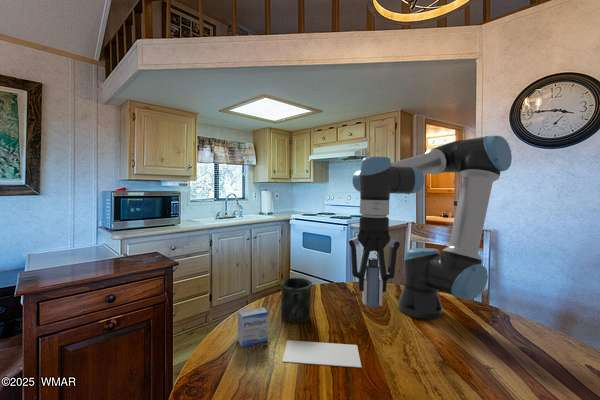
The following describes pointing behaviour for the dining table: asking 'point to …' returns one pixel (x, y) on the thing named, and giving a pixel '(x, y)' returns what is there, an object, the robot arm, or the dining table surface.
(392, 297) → the dining table surface
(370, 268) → the marker
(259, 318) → the medicine box
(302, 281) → the mug
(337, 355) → the paper
